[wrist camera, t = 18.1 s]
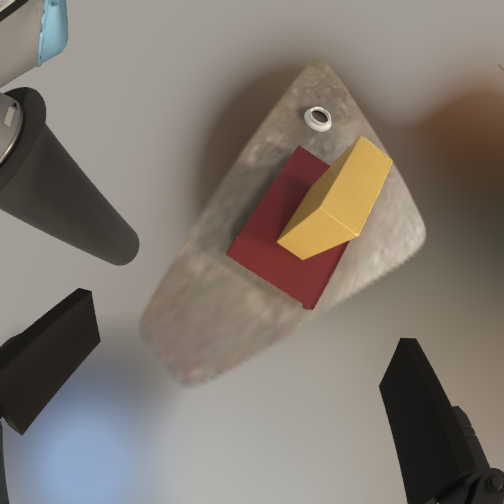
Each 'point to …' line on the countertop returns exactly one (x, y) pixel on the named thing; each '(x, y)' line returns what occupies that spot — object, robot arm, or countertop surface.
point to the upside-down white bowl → (316, 124)
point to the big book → (272, 225)
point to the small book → (337, 201)
